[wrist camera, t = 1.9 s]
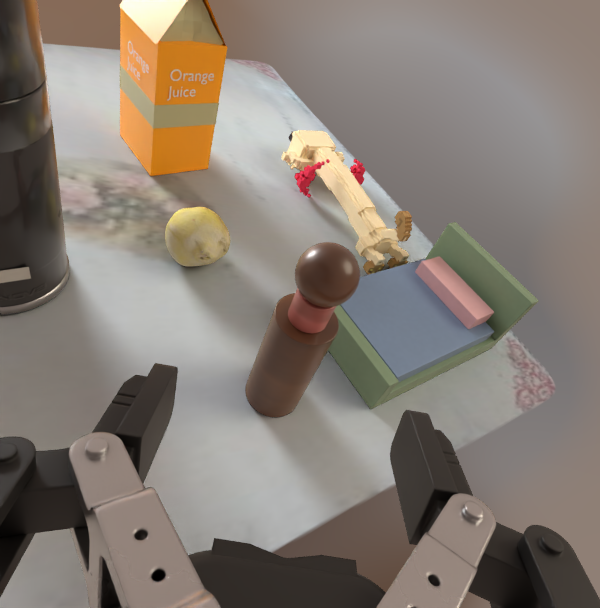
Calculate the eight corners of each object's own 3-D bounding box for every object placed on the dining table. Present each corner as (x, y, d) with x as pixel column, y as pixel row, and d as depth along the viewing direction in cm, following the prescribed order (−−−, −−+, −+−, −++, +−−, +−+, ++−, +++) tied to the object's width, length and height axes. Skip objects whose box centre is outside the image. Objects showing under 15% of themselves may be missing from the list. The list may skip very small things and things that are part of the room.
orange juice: (176, 130, 60) (194, -50, 46) (209, 168, 57) (238, -14, 43) (118, 134, 56) (118, -63, 42) (149, 176, 52) (160, -25, 38)
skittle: (235, 379, 38) (286, 231, 26) (281, 362, 40) (345, 220, 29) (262, 426, 36) (329, 287, 24) (308, 405, 38) (389, 270, 27)
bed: (299, 310, 45) (324, 251, 40) (421, 272, 55) (455, 221, 49) (370, 409, 40) (411, 358, 34) (491, 348, 50) (539, 300, 44)
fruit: (207, 216, 51) (245, 268, 45) (155, 235, 49) (188, 292, 43) (195, 170, 46) (236, 222, 40) (138, 189, 45) (172, 246, 39)
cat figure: (409, 274, 56) (323, 146, 68) (449, 223, 50) (346, 91, 61) (345, 285, 51) (263, 145, 63) (379, 231, 45) (281, 85, 56)
